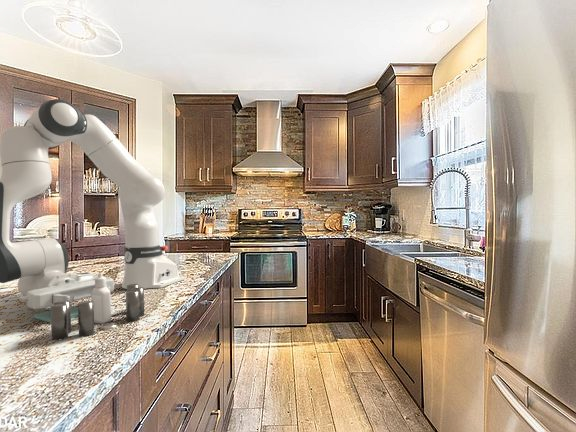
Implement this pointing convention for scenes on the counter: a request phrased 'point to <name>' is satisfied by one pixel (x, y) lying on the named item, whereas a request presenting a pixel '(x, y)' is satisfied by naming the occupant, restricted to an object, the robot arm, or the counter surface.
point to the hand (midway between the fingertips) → (90, 295)
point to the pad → (47, 315)
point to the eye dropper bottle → (101, 300)
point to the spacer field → (92, 313)
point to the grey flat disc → (108, 326)
